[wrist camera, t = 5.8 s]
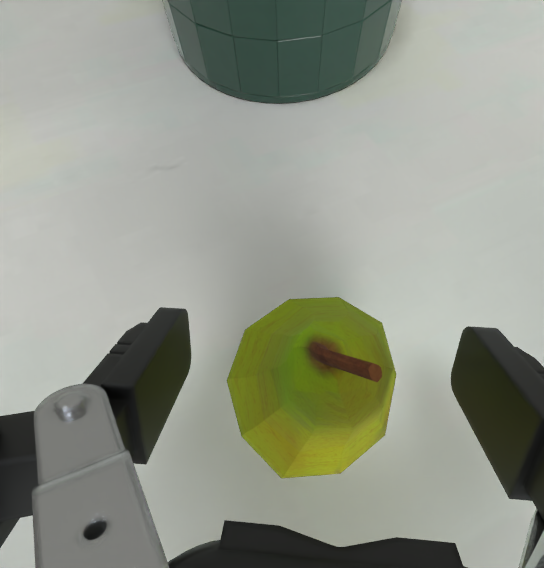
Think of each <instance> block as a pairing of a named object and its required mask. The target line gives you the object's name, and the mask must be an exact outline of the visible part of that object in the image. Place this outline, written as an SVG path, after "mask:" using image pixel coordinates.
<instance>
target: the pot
mask: <svg viewBox="0 0 544 568" xmlns="http://www.w3.org/2000/svg"><path fill="white" fill-rule="evenodd" d="M162 2H163V5H164V8H165V12H166V15H167V18H168V22H169V25H170V28H171V32H172V35H173V38H174V41H175V42H176V44H177V47H178V50H179V53H180V55H181V56H182V58H183V60H184V62H185V63H186V65H187V66H188V67H189V68H190V70H191V71H192V72H193V73H194V74H195V75H197V76H198V77H199V78H200V79H201V80H202V81H204V82H205V83H207V84H208V85H210V86H211V87H213V88H215V89H217V90H219V91H221V92H223V93H226V94H229V95H231V96H234V97H237V98H241V99H246V100H250V101H256V102H264V103H291V102H301V101H306V100H312V99H316V98H320V97H323V96H326V95H329V94H332V93H334V92H337V91H339V90H342V89H344V88H345V87H347V86H349V85H351V84H353V83H355V82H356V81H357V80H359V79H360V78H362V77H363V76H364V75H366V74H367V73H368V72H369V71H370V70H371V69H372V68H373V67H374V66H375V65H376V64H377V62H378V61H379V60H380V59H381V57H382V56H383V54H384V52H385V50H386V49H387V47H388V44H389V41H390V39H391V37H392V35H393V32H394V28H395V24H396V21H397V17H398V13H399V9H400V5H401V2H402V0H162Z"/></svg>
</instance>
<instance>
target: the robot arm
mask: <svg viewBox="0 0 544 568" xmlns="http://www.w3.org/2000/svg"><path fill="white" fill-rule="evenodd" d="M190 364H191V345H190V333H189V321H188V313H187V310H186V309H179V308H162V307H161V308H159V309H158V310H157V312H156V313H155V314H154V315H153V317H152V318H151V319H150V321H149V322H148V323H140V324H138V325H136V326H135V327H133V328H131V329H130V330H128V331H126V333H125V334H124V335H123V336H122V337H121V338H120V340H119V341H118V342H117V344H115V346H114V347H113V348H112V349H111V350H110V353H109V354H107V355H106V356H105V358H104V359H103V360H102V361H101V362H100V364H99V365H98V366H97V367H96V368H95V369H94V371H93V372H92V373H91V374H90V375H89V377H88V378H87V379H86V380H85V381H84V383H83V384H78V385H73V386H69V387H66V388H63V389H61V390H58V391H56V392H54V393H53V394H51V395H49V396H48V397H47V398H45V399H44V400H43V401H42V402H41V403H40V404H39V405H38V407H37V408H36V410H35V411H31V412H25V413H18V414H12V415H6V416H0V548H1V546H2V545H3V543H4V541H5V540H6V538H7V537H8V535H9V534H10V532H11V531H12V529H13V528H14V526H15V525H16V523H17V522H18V520H19V518H21V517H26V516H31V515H33V527H34V546H35V565H36V568H467V567H465V566H463V564H462V561H461V558H460V556H459V553H458V550H457V547H456V544H455V543H448V542H438V541H428V540H418V539H408V538H398V537H396V538H391V539H385V540H380V541H374V542H369V543H363V544H358V545H352V546H347V547H336V546H332V545H330V544H327V543H324V542H321V541H319V540H316V539H313V538H311V537H308V536H305V535H303V534H300V533H297V532H295V531H292V530H289V529H287V528H284V527H281V526H277V525H267V524H256V523H246V522H236V521H226V520H225V521H224V526H223V531H222V536H221V540H217V541H212V542H208V543H205V544H202V545H199V546H197V547H194V548H192V549H190V550H188V551H186V552H184V553H182V554H180V555H179V556H177V557H175V558H174V559H172V560H171V561H169V562H167V560H166V557H165V554H164V551H163V548H162V545H161V542H160V539H159V536H158V533H157V530H156V528H155V525H154V522H153V519H152V516H151V513H150V510H149V507H148V504H147V501H146V499H145V496H144V493H143V490H142V487H141V484H140V481H139V478H138V475H137V472H136V470H135V467H134V464H133V463H136V464H147V461H148V459H149V457H150V455H151V453H152V451H153V448H154V446H155V444H156V442H157V440H158V438H159V436H160V433H161V431H162V429H163V427H164V425H165V423H166V420H167V418H168V416H169V414H170V412H171V410H172V407H173V405H174V403H175V401H176V399H177V397H178V394H179V392H180V390H181V388H182V386H183V384H184V381H185V379H186V377H187V375H188V372H189V369H190ZM451 386H452V390H453V393H454V395H455V397H456V399H457V401H458V403H459V405H460V407H461V409H462V410H463V412H464V414H465V416H466V418H467V420H468V422H469V424H470V426H471V427H472V429H473V431H474V433H475V435H476V437H477V439H478V441H479V443H480V444H481V446H482V448H483V450H484V452H485V454H486V456H487V458H488V460H489V461H490V463H491V465H492V467H493V469H494V471H495V473H496V475H497V476H498V478H499V480H500V482H501V484H502V486H503V488H504V490H505V492H506V493H507V495H508V497H509V499H519V500H530V501H533V503H534V504H535V506H536V510H535V512H534V515H533V517H532V519H531V523H530V527H529V530H528V534H527V538H526V541H525V545H524V549H523V552H522V556H521V560H520V564H519V567H518V568H544V367H543V366H542V365H541V364H540V363H539V362H538V361H537V360H536V359H535V358H534V357H532V356H530V355H529V354H527V353H526V352H524V351H522V350H521V349H519V348H518V347H514V346H513V345H512V344H511V343H510V342H509V341H508V340H507V338H506V337H505V336H504V335H503V334H502V333H501V332H500V331H499V330H498V329H496V328H484V327H466V328H465V329H464V330H463V332H462V335H461V339H460V342H459V346H458V350H457V353H456V357H455V361H454V364H453V368H452V372H451Z"/></svg>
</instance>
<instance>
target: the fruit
mask: <svg viewBox="0 0 544 568" xmlns="http://www.w3.org/2000/svg"><path fill="white" fill-rule="evenodd" d="M395 378H396V372H395V368H394V364H393V361H392V357H391V354H390V350H389V346H388V343H387V339H386V336H385V332H384V329H383V325H382V323H381V322H380V321H378V320H376V319H375V318H373V317H371V316H369V315H368V314H366V313H364V312H363V311H361V310H359V309H358V308H356V307H354V306H353V305H351V304H349V303H348V302H346V301H344V300H343V299H341V298H339V297H333V298H308V299H289V300H287V301H286V302H284V303H283V304H281V305H280V306H279V307H277V308H276V309H274V310H273V311H271V312H270V313H269V314H267V315H266V316H264V317H263V318H261V319H260V320H258V321H257V322H256V323H254V324H253V325H251V326H250V327H248V328H247V329H246V330H245V332H244V334H243V337H242V340H241V343H240V345H239V348H238V351H237V354H236V356H235V359H234V362H233V365H232V367H231V370H230V373H229V376H228V379H227V383H228V387H229V391H230V394H231V398H232V402H233V406H234V410H235V413H236V417H237V421H238V425H239V429H240V432H241V436H242V437H243V438H244V439H245V440H246V441H247V442H248V444H249V445H250V446H251V447H252V448H253V449H254V450H255V451H256V452H257V453H258V454H259V455H260V456H261V457H262V458H263V459H264V460H265V461H266V462H267V464H268V465H269V466H270V467H271V468H272V469H273V470H274V471H275V472H276V473H277V474H278V475H279V476H280V477H281V478H290V477H303V476H315V475H327V474H340V473H341V472H343V471H344V470H345V469H346V468H347V467H348V466H350V465H351V464H352V463H353V462H354V461H355V460H357V459H358V458H359V457H360V456H361V455H362V454H364V453H365V452H366V451H367V450H368V449H369V448H371V447H372V446H373V445H374V444H375V443H376V442H378V441H379V440H380V439H381V438H382V437H383V436H385V432H386V427H387V421H388V416H389V410H390V405H391V400H392V394H393V389H394V384H395Z"/></svg>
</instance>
